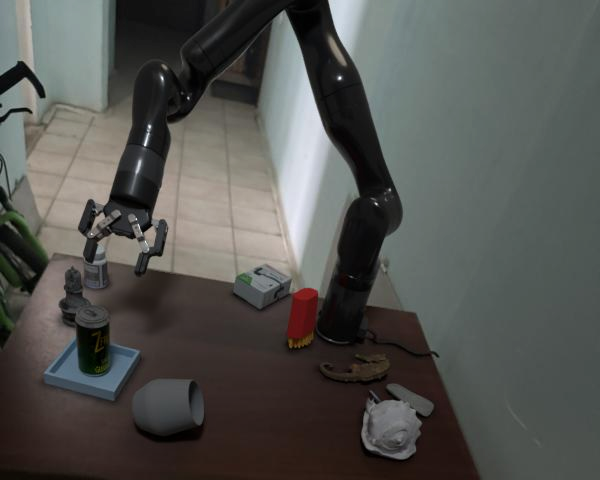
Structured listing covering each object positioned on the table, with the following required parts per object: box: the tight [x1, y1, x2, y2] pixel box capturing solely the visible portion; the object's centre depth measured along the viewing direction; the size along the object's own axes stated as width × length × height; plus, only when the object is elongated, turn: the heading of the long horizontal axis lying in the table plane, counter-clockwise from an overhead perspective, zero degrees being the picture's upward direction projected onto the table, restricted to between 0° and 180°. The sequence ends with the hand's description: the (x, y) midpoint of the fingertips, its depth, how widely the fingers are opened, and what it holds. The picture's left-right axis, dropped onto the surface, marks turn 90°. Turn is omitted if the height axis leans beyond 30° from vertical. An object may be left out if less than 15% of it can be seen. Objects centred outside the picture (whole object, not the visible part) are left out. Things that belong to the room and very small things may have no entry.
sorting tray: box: [43, 334, 141, 402], centre depth 93 cm, size 12×12×2 cm
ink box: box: [232, 263, 293, 310], centre depth 125 cm, size 9×5×12 cm
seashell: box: [360, 397, 423, 461], centre depth 95 cm, size 12×14×10 cm
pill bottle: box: [82, 244, 109, 290], centre depth 111 cm, size 5×5×8 cm
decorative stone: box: [385, 382, 435, 417], centre depth 108 cm, size 11×1×5 cm
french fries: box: [286, 287, 319, 349], centre depth 112 cm, size 8×4×12 cm, turn 145°
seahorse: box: [318, 352, 392, 384], centre depth 111 cm, size 9×16×3 cm, turn 123°
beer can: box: [75, 304, 111, 377], centre depth 90 cm, size 5×5×12 cm
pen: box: [368, 389, 382, 404], centre depth 104 cm, size 1×1×14 cm
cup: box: [131, 378, 205, 437], centre depth 85 cm, size 10×9×10 cm
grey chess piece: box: [58, 265, 92, 328], centre depth 99 cm, size 6×6×12 cm
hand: (113, 268), depth 89 cm, fingers open, 8 cm apart
